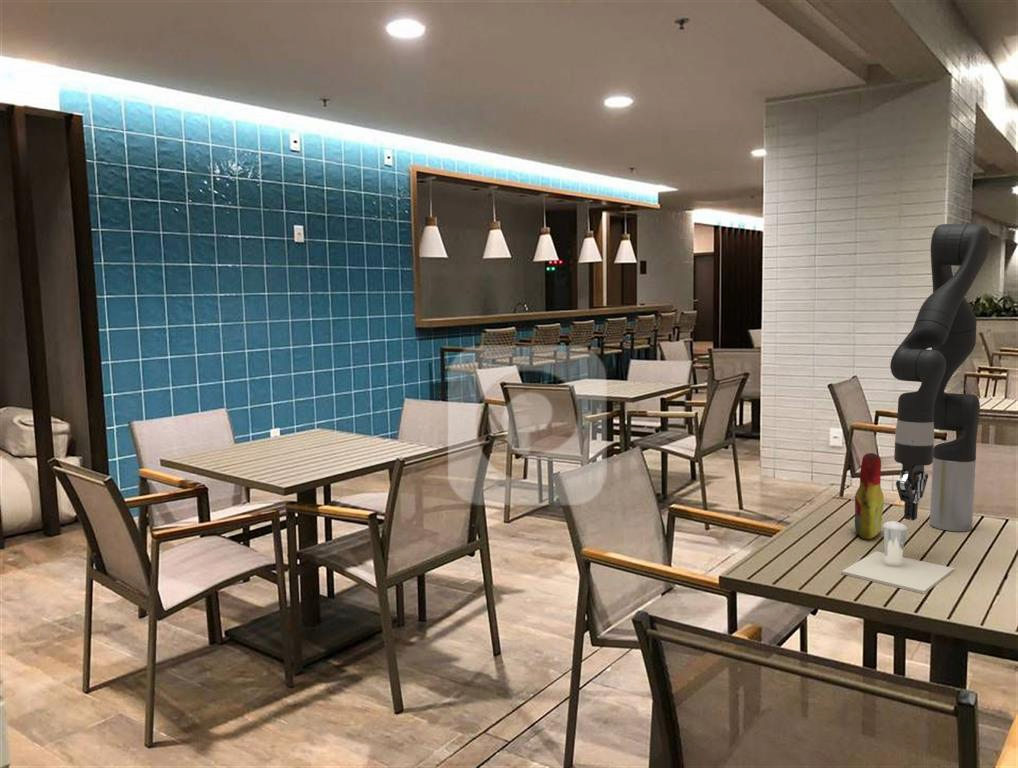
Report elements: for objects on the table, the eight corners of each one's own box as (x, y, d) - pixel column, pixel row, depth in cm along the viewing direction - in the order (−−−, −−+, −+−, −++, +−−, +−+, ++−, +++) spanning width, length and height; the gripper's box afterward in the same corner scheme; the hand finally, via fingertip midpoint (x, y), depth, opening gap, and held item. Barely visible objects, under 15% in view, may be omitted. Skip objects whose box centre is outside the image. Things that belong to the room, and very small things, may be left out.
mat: (875, 553, 178) (875, 551, 178) (954, 570, 167) (954, 568, 167) (841, 573, 166) (841, 571, 166) (923, 593, 154) (924, 590, 154)
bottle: (879, 543, 186) (882, 458, 183) (849, 539, 189) (852, 456, 187) (884, 530, 196) (887, 450, 194) (856, 526, 199) (859, 447, 197)
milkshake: (911, 568, 167) (914, 521, 166) (884, 566, 168) (886, 520, 167) (906, 561, 171) (908, 515, 170) (879, 559, 172) (880, 514, 171)
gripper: (921, 447, 166) (918, 528, 168) (943, 439, 175) (939, 516, 177) (884, 443, 171) (881, 522, 173) (907, 435, 180) (903, 510, 182)
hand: (910, 519), depth 175 cm, fingers closed
